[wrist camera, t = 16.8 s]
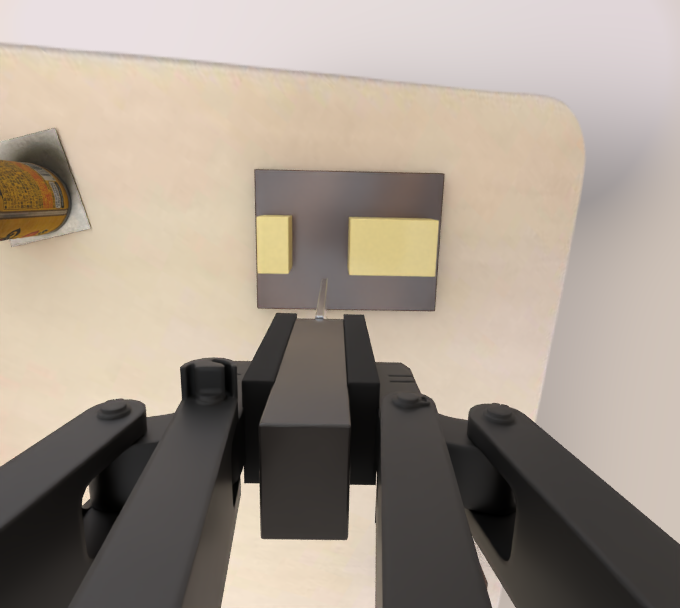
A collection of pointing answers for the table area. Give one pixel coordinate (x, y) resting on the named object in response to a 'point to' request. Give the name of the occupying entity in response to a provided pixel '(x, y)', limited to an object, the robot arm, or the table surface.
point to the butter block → (392, 246)
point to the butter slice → (274, 244)
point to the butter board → (343, 236)
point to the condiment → (37, 190)
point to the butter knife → (307, 435)
